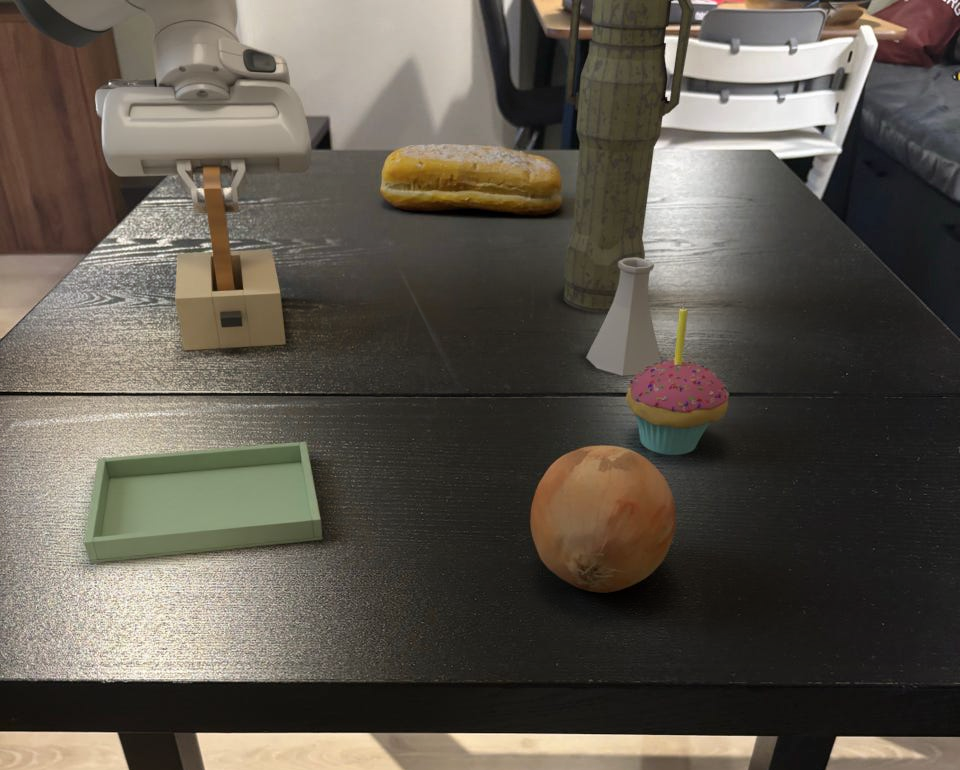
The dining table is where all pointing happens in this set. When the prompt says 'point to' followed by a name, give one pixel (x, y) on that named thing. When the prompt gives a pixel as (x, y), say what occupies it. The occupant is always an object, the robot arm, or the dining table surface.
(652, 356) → the flask
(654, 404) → the cupcake
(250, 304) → the toaster
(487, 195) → the bread
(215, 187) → the toast
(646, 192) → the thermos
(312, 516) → the tray
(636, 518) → the onion
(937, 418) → the dining table surface
